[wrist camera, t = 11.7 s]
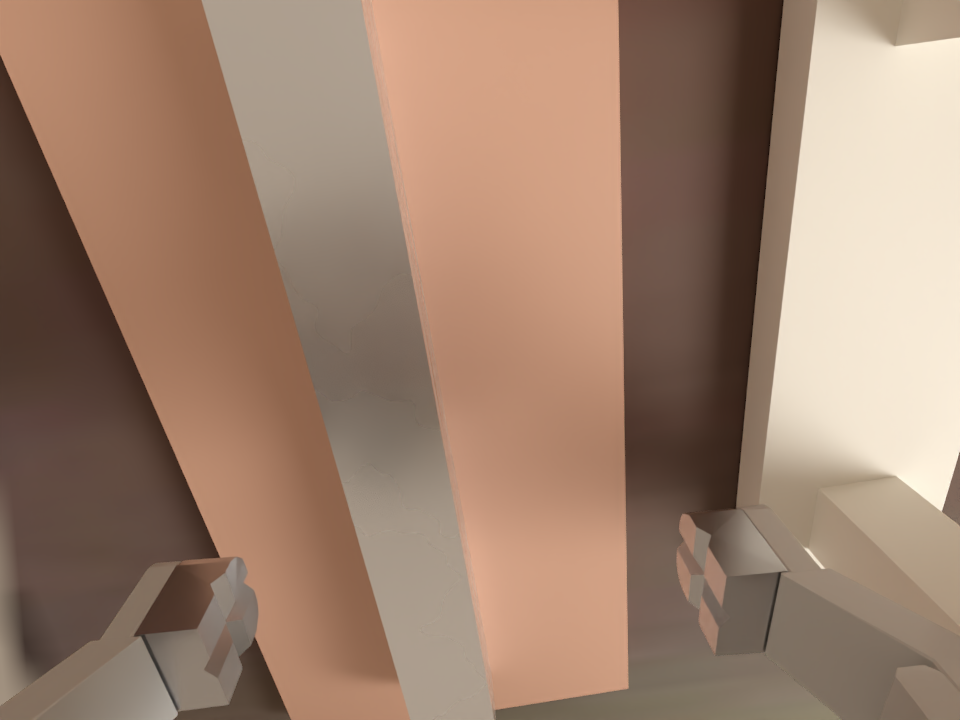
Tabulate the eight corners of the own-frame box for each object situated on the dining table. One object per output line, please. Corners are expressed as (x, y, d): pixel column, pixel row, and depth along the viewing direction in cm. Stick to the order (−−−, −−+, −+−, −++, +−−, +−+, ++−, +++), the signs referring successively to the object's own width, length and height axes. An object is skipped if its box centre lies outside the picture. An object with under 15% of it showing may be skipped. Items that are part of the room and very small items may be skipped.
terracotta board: (619, 663, 21) (628, 688, 20) (306, 713, 21) (300, 740, 20) (600, -153, 11) (615, -178, 10) (-20, -73, 10) (-64, -90, 9)
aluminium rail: (491, 672, 19) (499, 746, 17) (422, 684, 19) (421, 758, 17) (369, -10, 10) (353, -41, 8) (245, 7, 10) (195, -20, 8)
